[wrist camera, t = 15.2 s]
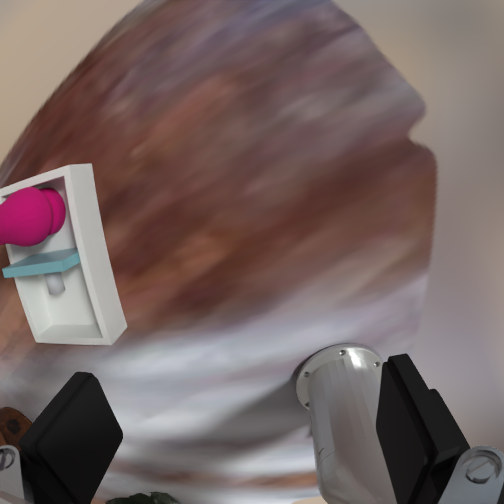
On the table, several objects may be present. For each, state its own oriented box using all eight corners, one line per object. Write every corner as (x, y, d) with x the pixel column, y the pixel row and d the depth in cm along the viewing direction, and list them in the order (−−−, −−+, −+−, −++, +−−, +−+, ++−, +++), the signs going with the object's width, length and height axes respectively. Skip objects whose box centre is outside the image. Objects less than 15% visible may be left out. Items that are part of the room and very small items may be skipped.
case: (62, 437, 50) (22, 493, 33) (46, 463, 56) (15, 508, 38) (0, 381, 49) (-48, 426, 32) (-6, 417, 54) (-42, 456, 37)
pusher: (100, 281, 38) (73, 301, 32) (41, 286, 40) (12, 304, 33) (91, 245, 37) (61, 260, 31) (32, 254, 38) (2, 268, 32)
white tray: (127, 326, 41) (112, 345, 36) (53, 327, 43) (36, 342, 38) (91, 163, 36) (69, 164, 31) (18, 186, 37) (-5, 191, 32)
